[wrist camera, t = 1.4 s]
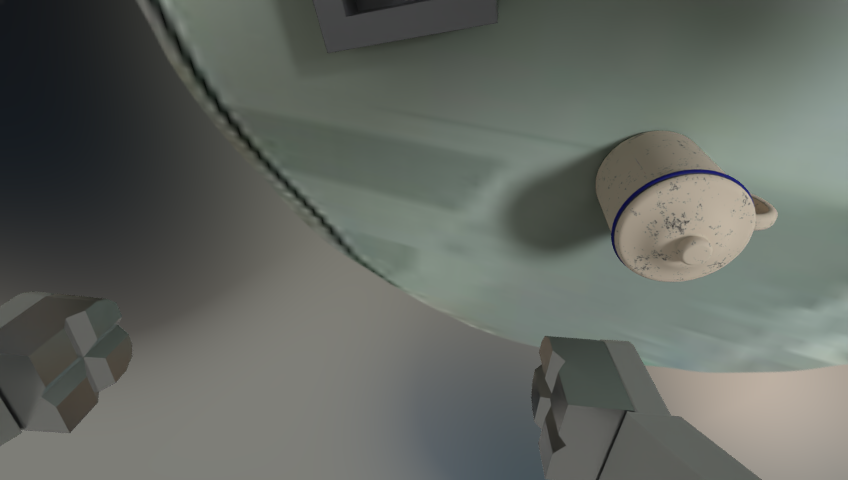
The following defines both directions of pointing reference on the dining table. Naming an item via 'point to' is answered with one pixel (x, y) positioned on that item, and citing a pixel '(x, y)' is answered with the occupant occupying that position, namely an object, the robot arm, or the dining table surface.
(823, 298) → the dining table surface
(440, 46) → the dining table surface
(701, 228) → the teacup with lid
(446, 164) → the dining table surface
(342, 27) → the dome housing
